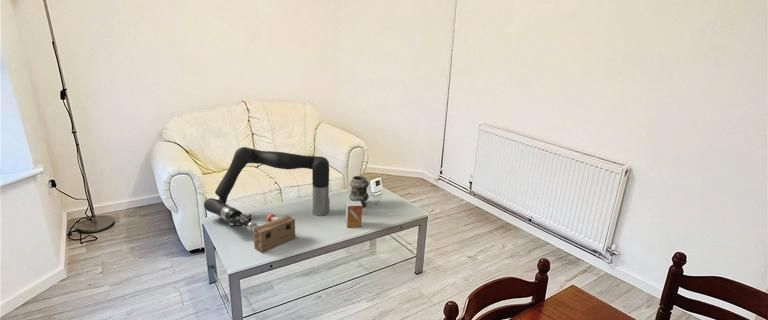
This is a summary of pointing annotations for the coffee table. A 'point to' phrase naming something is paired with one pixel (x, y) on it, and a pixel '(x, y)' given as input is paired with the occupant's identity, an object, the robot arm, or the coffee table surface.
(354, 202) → the small box
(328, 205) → the robot arm
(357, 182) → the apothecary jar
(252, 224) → the grey plunger
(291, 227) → the walnut housing
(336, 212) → the coffee table surface
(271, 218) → the red plunger
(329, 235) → the coffee table surface
